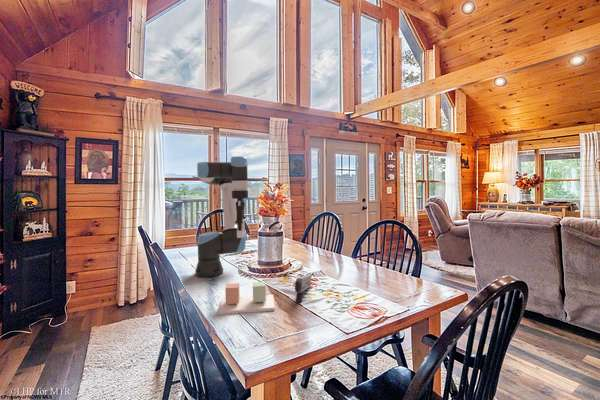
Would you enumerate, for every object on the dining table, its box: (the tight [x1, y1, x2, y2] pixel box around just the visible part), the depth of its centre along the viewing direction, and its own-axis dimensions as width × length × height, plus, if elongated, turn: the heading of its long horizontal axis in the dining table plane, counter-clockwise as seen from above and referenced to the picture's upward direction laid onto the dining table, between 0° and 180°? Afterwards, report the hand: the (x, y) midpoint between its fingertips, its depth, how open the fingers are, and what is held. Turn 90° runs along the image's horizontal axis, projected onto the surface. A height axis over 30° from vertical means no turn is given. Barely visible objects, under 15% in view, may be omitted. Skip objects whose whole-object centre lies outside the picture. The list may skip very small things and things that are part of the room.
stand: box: [218, 282, 276, 315], centre depth 126 cm, size 14×22×9 cm, turn 98°
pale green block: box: [252, 281, 267, 302], centre depth 126 cm, size 5×5×7 cm
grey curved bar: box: [294, 273, 312, 304], centre depth 137 cm, size 2×25×10 cm, turn 166°
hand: (241, 235), depth 142 cm, fingers open, 13 cm apart
